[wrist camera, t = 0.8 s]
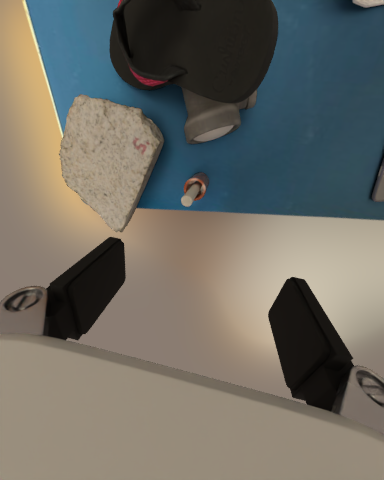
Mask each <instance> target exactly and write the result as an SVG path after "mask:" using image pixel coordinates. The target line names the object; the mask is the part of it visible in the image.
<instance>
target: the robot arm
mask: <svg viewBox="0 0 384 480" xmlns="http://www.w3.org/2000/svg"><path fill="white" fill-rule="evenodd" d="M124 281H125V255H124V243H123V242H122V241H121V239H118V238H113V237H109V238H108V239H106V240H105V241H104V242H103V243H101V244H100V245H99V246H97V247H96V248H95V249H94V250H92V251H91V252H90V253H89V254H87V255H86V256H85V257H83V258H82V259H81V260H80V261H78V262H77V263H76V264H75V265H73V266H72V267H71V268H69V269H68V270H67V271H65V272H64V273H63V274H62V275H60V276H59V277H58V278H56V279H55V280H54V281H53V282H51V283H50V286H49V287H48V288H46V289H45V288H43V287H40V286H30V287H25V288H21V289H19V290H16V291H14V292H12V293H11V294H9V295H7V296H6V297H5V298H4V299H3V300H2V301H1V302H0V480H384V379H383V378H382V377H381V376H379V375H378V374H377V373H375V372H373V371H372V370H370V369H368V368H366V367H363V366H358V365H357V366H354V365H353V363H352V362H351V360H352V359H353V357H352V356H351V354H350V352H349V351H348V349H347V348H346V346H345V344H344V343H343V341H342V339H341V338H340V336H339V335H338V333H337V331H336V330H335V328H334V326H333V325H332V323H331V322H330V320H329V319H328V317H327V315H326V314H325V312H324V311H323V309H322V307H321V305H320V304H319V302H318V301H317V299H316V297H315V296H314V294H313V293H312V291H311V289H310V287H309V286H308V284H307V283H306V281H305V280H304V279H299V278H295V277H291V278H290V279H287V280H286V282H285V284H284V285H283V287H282V289H281V291H280V293H279V295H278V296H277V298H276V300H275V302H274V303H273V305H272V307H271V309H270V310H269V314H268V317H269V321H270V325H271V329H272V333H273V336H274V340H275V344H276V348H277V351H278V355H279V359H280V363H281V367H282V370H283V374H284V378H285V382H286V385H287V387H289V388H290V390H291V393H292V397H293V398H297V399H301V400H304V401H305V400H306V403H307V405H306V404H303V403H300V402H296V401H293V400H289V399H286V398H282V397H278V396H275V395H272V394H268V393H264V392H260V391H257V390H253V389H249V388H246V387H242V386H238V385H235V384H231V383H228V382H224V381H220V380H216V379H213V378H208V377H205V376H201V375H198V374H194V373H190V372H187V371H183V370H179V369H175V368H171V367H168V366H164V365H160V364H156V363H153V362H149V361H145V360H141V359H137V358H134V357H130V356H126V355H122V354H118V353H114V352H111V351H107V350H103V349H99V348H95V347H91V346H87V345H83V344H79V343H75V342H71V341H66V339H67V338H71V339H75V340H78V339H79V338H80V337H81V336H82V334H86V333H87V332H88V331H89V329H90V328H91V327H92V325H93V324H94V323H95V321H96V320H97V319H98V317H99V316H100V314H101V313H102V312H103V310H104V309H105V308H106V306H107V305H108V304H109V302H110V301H111V299H112V298H113V297H114V295H115V294H116V293H117V291H118V290H119V289H120V287H121V286H122V285H123V283H124Z"/></svg>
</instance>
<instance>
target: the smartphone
mask: <svg viewBox="0 0 384 480" xmlns="http://www.w3.org/2000/svg"><path fill="white" fill-rule="evenodd" d="M372 200H374V201H375V202H380V201H384V158H383V162H382V165H381V168H380V171H379V174H378V178H377V181H376V184H375V188H374V191H373V194H372Z"/></svg>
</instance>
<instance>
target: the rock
mask: <svg viewBox="0 0 384 480" xmlns="http://www.w3.org/2000/svg"><path fill="white" fill-rule="evenodd" d="M66 119H67V123H66V127H65V132H64V136H63V139H62V141H61V150H60V154H59V155H60V160H61V165H62V176H63V178H64V179H65V182H66V183H67V186H68V187H70V188H71V189H72V190H74V191H75V192H76V193H78V194H79V196H80V197H81V200H83V201H84V202H85V203H87V204H88V205H89V206H90V207H91V208H92V209H93V210H94V211H96V212H97V213H98V214H99V215H101V217H102V218H103V219H104V220H105V222H106V224H107V225H108V226H109V227H110V228H111V229H113V230H114V231H115V232H118V231H120V232H123V230H124V229H125V227H126V226H127V224H128V223H129V221H130V219H131V217H132V215H133V213H134V211H135V209H136V207H137V204H138V202H139V200H140V197H141V195H142V193H143V191H144V189H145V186H146V184H147V182H148V180H149V177H150V175H151V172H152V170H153V168H154V166H155V163H156V161H157V159H158V156H159V154H160V151H161V149H162V146H163V143H164V138H163V135H162V133H161V131H160V129H159V128H158V127H157V126H156V125H155V124H154V123H153V121H152V120H151V119H149V118H147V117H146V116H145V115H144V114H143V112H142V109H139V108H134V107H128V106H126V105H120V104H115V103H113V102H111V101H110V100H107V99H105V100H103V99H101V98H100V99H97V98H90V97H88V96H87V95H79V96H78V97H76V98H75V99H74V102H73V104H72V106H71V107H70V109H69V113H68V115H67V118H66Z"/></svg>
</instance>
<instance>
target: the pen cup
mask: <svg viewBox="0 0 384 480" xmlns="http://www.w3.org/2000/svg"><path fill="white" fill-rule="evenodd" d="M195 181H199V182H200V183H201V184H202V187H201V188H200V190H199V192H198V194H197V195H196V197H195V199H194V201H196V200H200V199H201V198H202V197H203V196H204V194H205V192H206V190H207V187H208V185H209V179H208V176H207V175H206V174H205V173H202V172H198V173H195V174H194V175H193V176H192V177H191V178H190V179H189V180H188V181H187V182H186V183H185V185H184V193H185V194H186V192H187V191H188V190H189V189H190V187H191V186H192V185H193V184H194V183H195Z"/></svg>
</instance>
